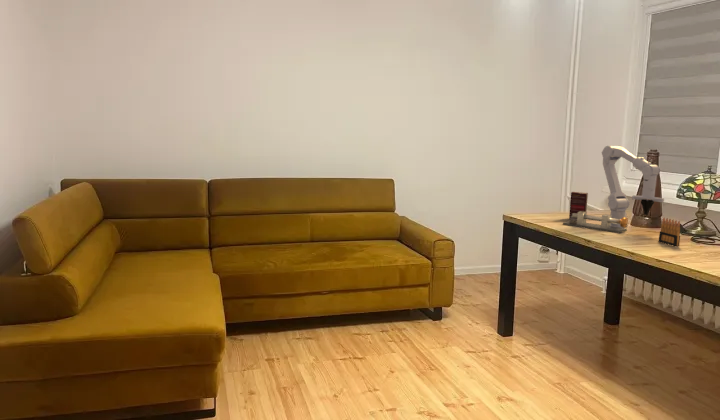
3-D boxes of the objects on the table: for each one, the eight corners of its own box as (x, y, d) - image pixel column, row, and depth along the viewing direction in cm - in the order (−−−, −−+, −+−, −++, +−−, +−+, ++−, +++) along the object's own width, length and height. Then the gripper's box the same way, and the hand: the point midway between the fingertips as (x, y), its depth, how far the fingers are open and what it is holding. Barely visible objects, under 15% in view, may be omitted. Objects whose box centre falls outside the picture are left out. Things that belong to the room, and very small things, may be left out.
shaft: (574, 219, 305) (575, 210, 304) (627, 226, 286) (628, 217, 285) (570, 220, 302) (571, 211, 301) (623, 228, 282) (624, 218, 282)
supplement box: (585, 220, 318) (588, 192, 315) (584, 221, 314) (586, 193, 311) (570, 218, 322) (572, 191, 320) (568, 219, 318) (570, 192, 316)
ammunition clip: (679, 246, 254) (682, 221, 252) (676, 246, 254) (679, 221, 252) (661, 241, 264) (664, 216, 262) (658, 241, 264) (661, 217, 262)
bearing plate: (570, 222, 309) (571, 209, 308) (626, 230, 289) (628, 216, 288) (562, 224, 302) (564, 210, 301) (619, 233, 282) (621, 218, 280)
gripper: (631, 187, 283) (628, 213, 285) (662, 190, 273) (659, 217, 275) (636, 186, 288) (633, 212, 290) (666, 189, 278) (663, 215, 280)
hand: (646, 214), depth 283 cm, fingers closed
